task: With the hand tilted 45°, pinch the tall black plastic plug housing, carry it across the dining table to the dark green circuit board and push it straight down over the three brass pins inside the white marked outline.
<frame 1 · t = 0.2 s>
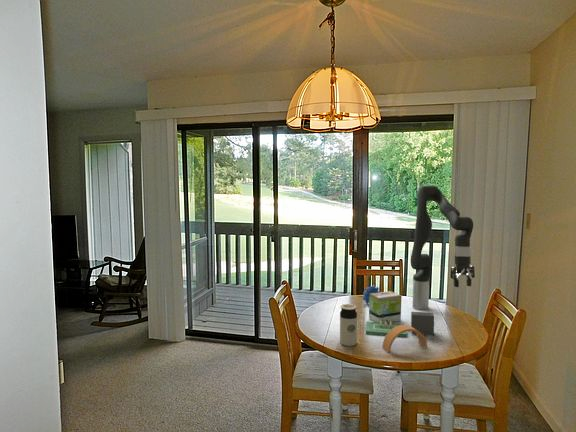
hand: (462, 286, 197), 23 cm above the table, tool pointing down, fingers open, 8 cm apart
travel mug: (348, 343, 182), on the table
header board: (385, 330, 198), on the table
grapes: (370, 303, 243), on the table
tea box: (384, 320, 214), on the table
arch: (404, 348, 177), on the table
plug housing: (422, 332, 194), on the table
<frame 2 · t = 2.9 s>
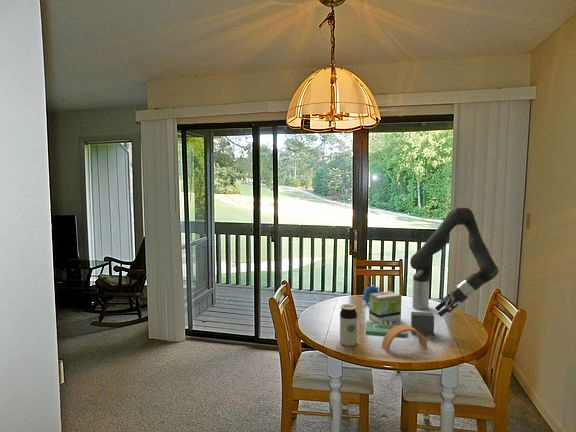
hand: (437, 312, 192), 11 cm above the table, tool tilted 45°, fingers open, 8 cm apart
nothing on the table moved.
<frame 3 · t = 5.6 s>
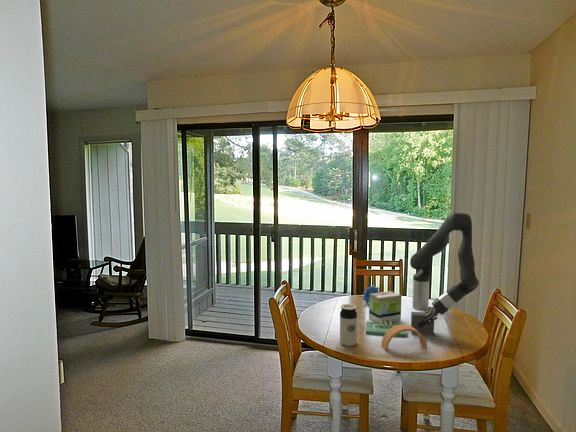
hand: (418, 324, 194), 4 cm above the table, tool tilted 45°, fingers closed on plug housing, 5 cm apart
plug housing: (422, 332, 194), on the table, touching gripper
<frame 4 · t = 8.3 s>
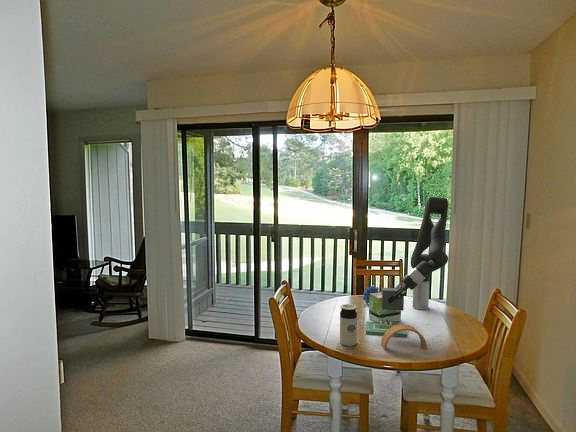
hand: (388, 300, 196), 16 cm above the table, tool tilted 45°, fingers closed on plug housing, 5 cm apart
plug housing: (392, 308, 196), point 12 cm above the table, touching gripper
when the fingers open (6 cm above the table, at t = 11.1 s): plug housing stays where it is, resting on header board.
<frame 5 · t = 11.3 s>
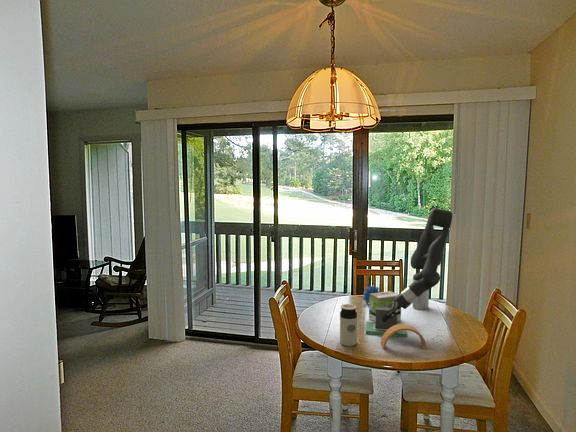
hand: (382, 318, 198), 6 cm above the table, tool tilted 45°, fingers open, 6 cm apart
plug housing: (385, 327, 198), point 1 cm above the table, touching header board
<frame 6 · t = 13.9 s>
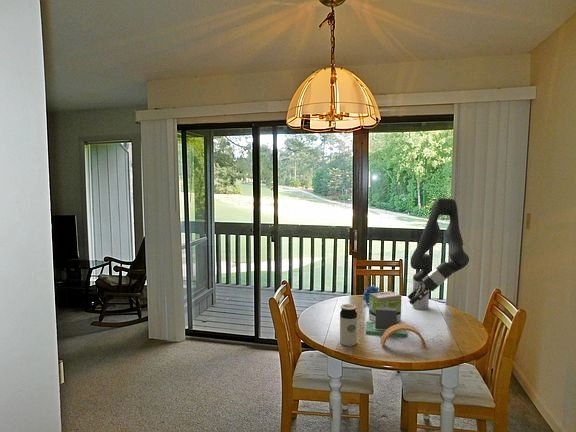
hand: (409, 300, 194), 16 cm above the table, tool tilted 45°, fingers open, 8 cm apart
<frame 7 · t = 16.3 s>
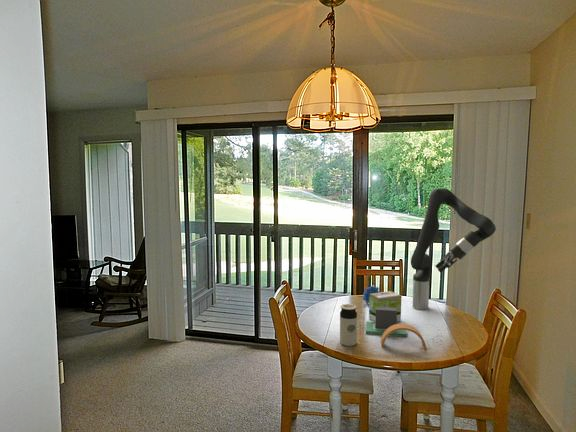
hand: (437, 269, 201), 31 cm above the table, tool tilted 45°, fingers open, 8 cm apart
at the end: plug housing 0.0 cm off-centre on the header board, point 1.5 cm above the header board's base; plug housing tilted 0°; the gripper is holding nothing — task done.
